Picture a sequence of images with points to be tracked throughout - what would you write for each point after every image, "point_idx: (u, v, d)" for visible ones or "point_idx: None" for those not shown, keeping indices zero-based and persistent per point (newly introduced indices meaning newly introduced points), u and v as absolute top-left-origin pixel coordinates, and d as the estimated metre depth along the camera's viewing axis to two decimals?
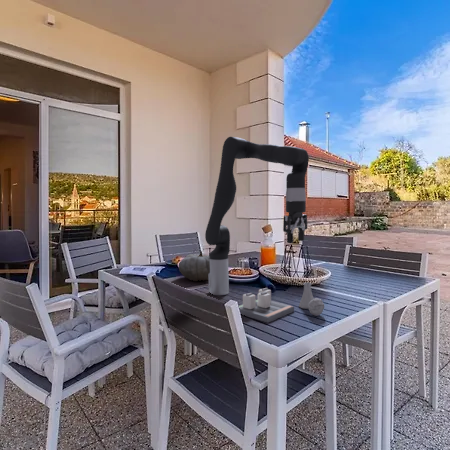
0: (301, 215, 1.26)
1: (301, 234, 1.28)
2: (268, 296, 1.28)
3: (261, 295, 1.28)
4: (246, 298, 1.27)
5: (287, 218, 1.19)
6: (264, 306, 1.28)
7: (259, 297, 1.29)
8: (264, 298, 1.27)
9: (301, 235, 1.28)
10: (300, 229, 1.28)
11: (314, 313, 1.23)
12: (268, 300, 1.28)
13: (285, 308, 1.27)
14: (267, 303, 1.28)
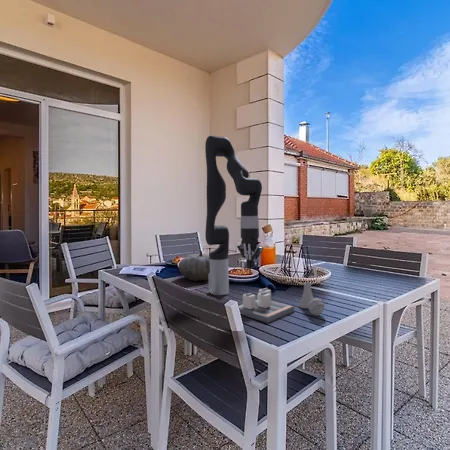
0: None
1: None
2: (268, 296, 1.28)
3: (261, 295, 1.28)
4: (246, 298, 1.27)
5: (261, 250, 1.29)
6: (264, 306, 1.28)
7: (259, 297, 1.29)
8: (264, 298, 1.27)
9: None
10: None
11: (314, 313, 1.23)
12: (268, 300, 1.28)
13: (285, 308, 1.27)
14: (267, 303, 1.28)
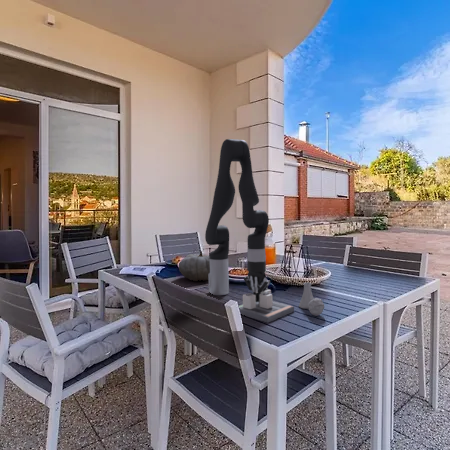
0: None
1: None
2: (270, 296, 1.28)
3: (263, 295, 1.28)
4: (246, 298, 1.27)
5: (268, 283, 1.28)
6: (266, 307, 1.27)
7: (261, 297, 1.28)
8: (267, 299, 1.26)
9: None
10: None
11: (314, 313, 1.23)
12: (270, 300, 1.27)
13: (285, 308, 1.27)
14: (269, 304, 1.27)
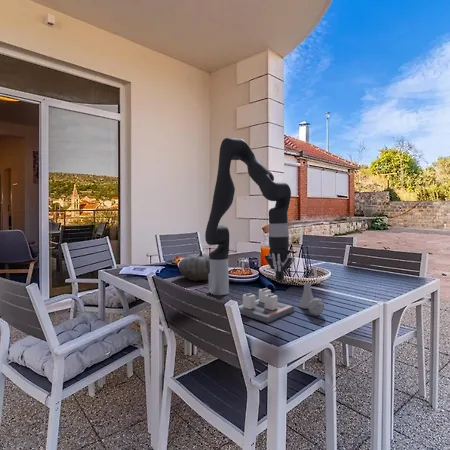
0: None
1: None
2: (275, 298, 1.26)
3: (268, 297, 1.26)
4: (246, 298, 1.27)
5: (292, 260, 1.19)
6: (271, 308, 1.25)
7: (266, 299, 1.27)
8: (272, 300, 1.25)
9: None
10: None
11: (314, 313, 1.23)
12: (275, 301, 1.26)
13: (285, 308, 1.27)
14: (274, 305, 1.25)
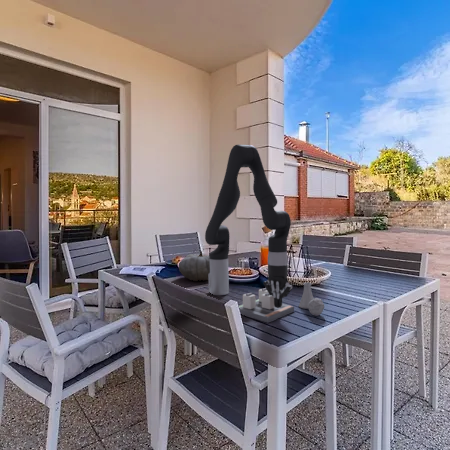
0: None
1: None
2: (272, 297, 1.27)
3: (265, 296, 1.27)
4: (246, 298, 1.27)
5: (291, 289, 1.21)
6: (268, 307, 1.26)
7: (263, 298, 1.28)
8: (269, 299, 1.26)
9: None
10: None
11: (314, 313, 1.23)
12: (272, 301, 1.27)
13: (285, 308, 1.27)
14: (271, 304, 1.26)
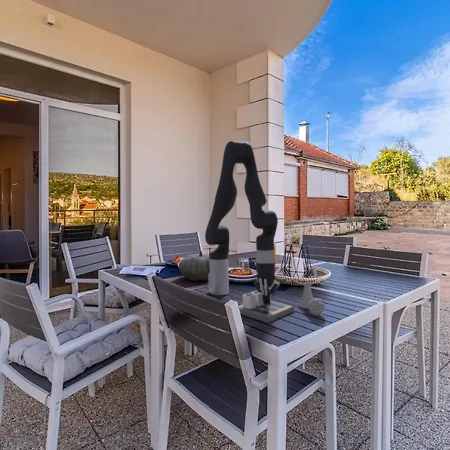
0: None
1: None
2: (261, 294, 1.31)
3: (254, 293, 1.31)
4: (246, 298, 1.27)
5: (278, 285, 1.25)
6: (257, 304, 1.30)
7: None
8: (257, 296, 1.30)
9: None
10: None
11: (314, 313, 1.23)
12: (261, 298, 1.31)
13: (285, 308, 1.27)
14: (260, 301, 1.31)
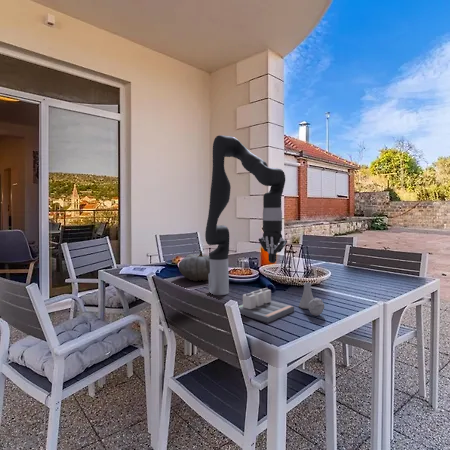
0: None
1: None
2: (261, 294, 1.31)
3: (254, 293, 1.31)
4: (246, 298, 1.27)
5: (285, 243, 1.24)
6: (257, 304, 1.30)
7: None
8: (257, 296, 1.30)
9: None
10: None
11: (314, 313, 1.23)
12: (261, 298, 1.31)
13: (285, 308, 1.27)
14: (260, 301, 1.31)
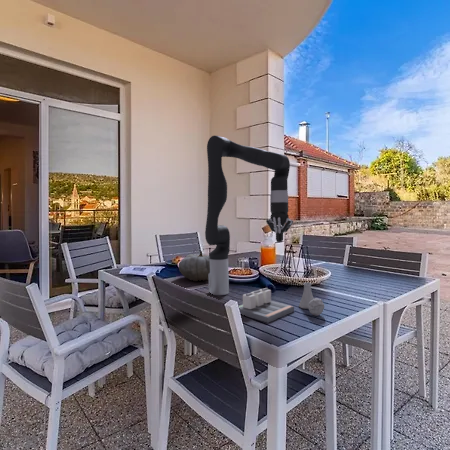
0: None
1: None
2: (261, 294, 1.31)
3: (254, 293, 1.31)
4: (246, 298, 1.27)
5: (291, 223, 1.34)
6: (257, 304, 1.30)
7: None
8: (257, 296, 1.30)
9: None
10: None
11: (314, 313, 1.23)
12: (261, 298, 1.31)
13: (285, 308, 1.27)
14: (260, 301, 1.31)
